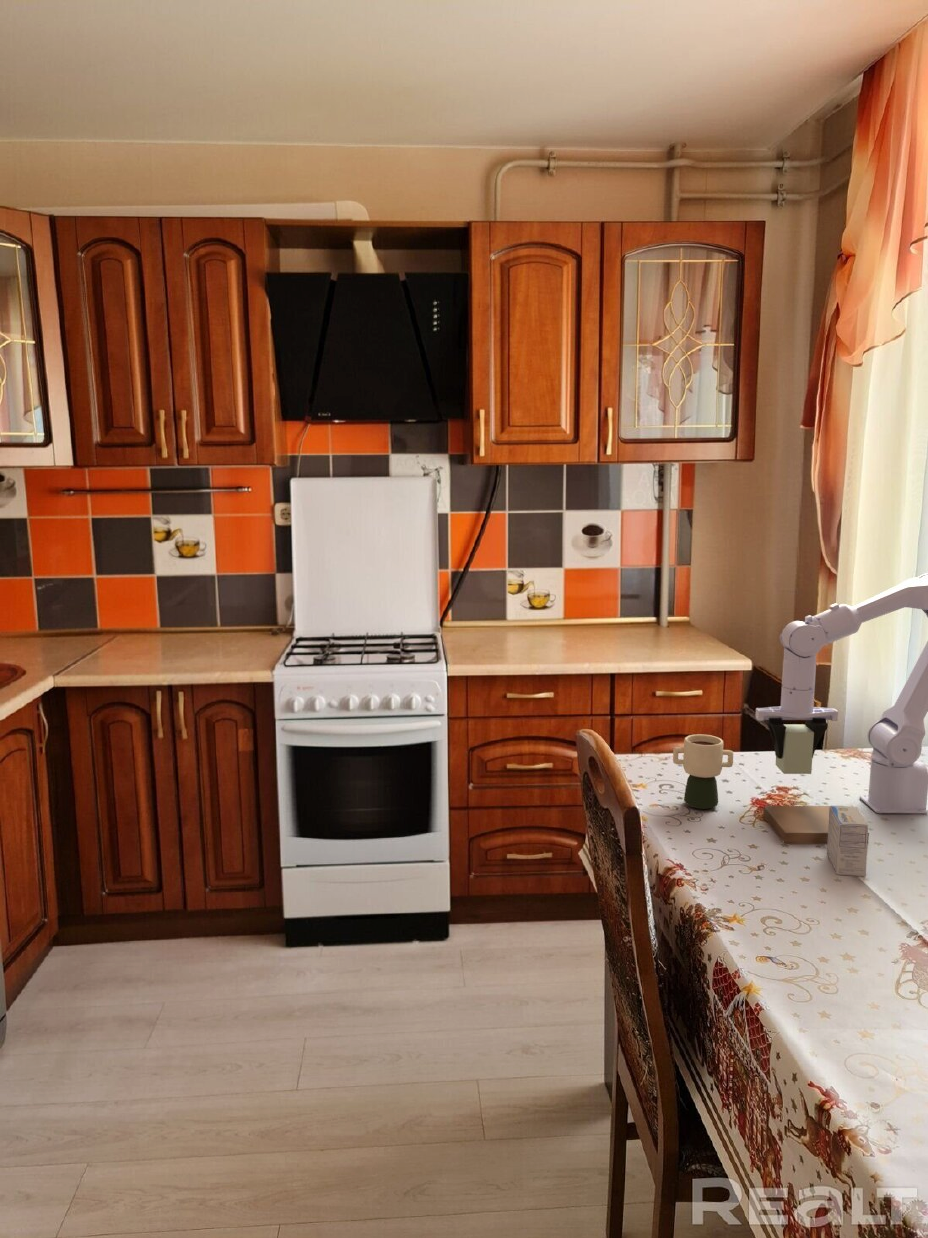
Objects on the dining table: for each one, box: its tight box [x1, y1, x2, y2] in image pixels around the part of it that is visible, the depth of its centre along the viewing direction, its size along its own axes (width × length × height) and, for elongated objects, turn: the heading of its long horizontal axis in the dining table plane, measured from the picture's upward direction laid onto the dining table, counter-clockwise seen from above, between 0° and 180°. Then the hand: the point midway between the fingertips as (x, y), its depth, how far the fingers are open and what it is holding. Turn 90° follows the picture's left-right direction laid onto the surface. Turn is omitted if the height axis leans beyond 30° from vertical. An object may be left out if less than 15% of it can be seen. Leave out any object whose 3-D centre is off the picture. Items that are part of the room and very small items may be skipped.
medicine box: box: [826, 805, 869, 877], centre depth 141 cm, size 8×4×9 cm, turn 168°
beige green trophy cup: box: [672, 733, 734, 810], centre depth 166 cm, size 11×7×13 cm, turn 78°
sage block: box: [775, 723, 814, 775], centre depth 165 cm, size 5×5×8 cm
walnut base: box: [762, 805, 870, 845], centre depth 156 cm, size 14×12×2 cm
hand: (793, 757), depth 166 cm, fingers closed on sage block, 5 cm apart
